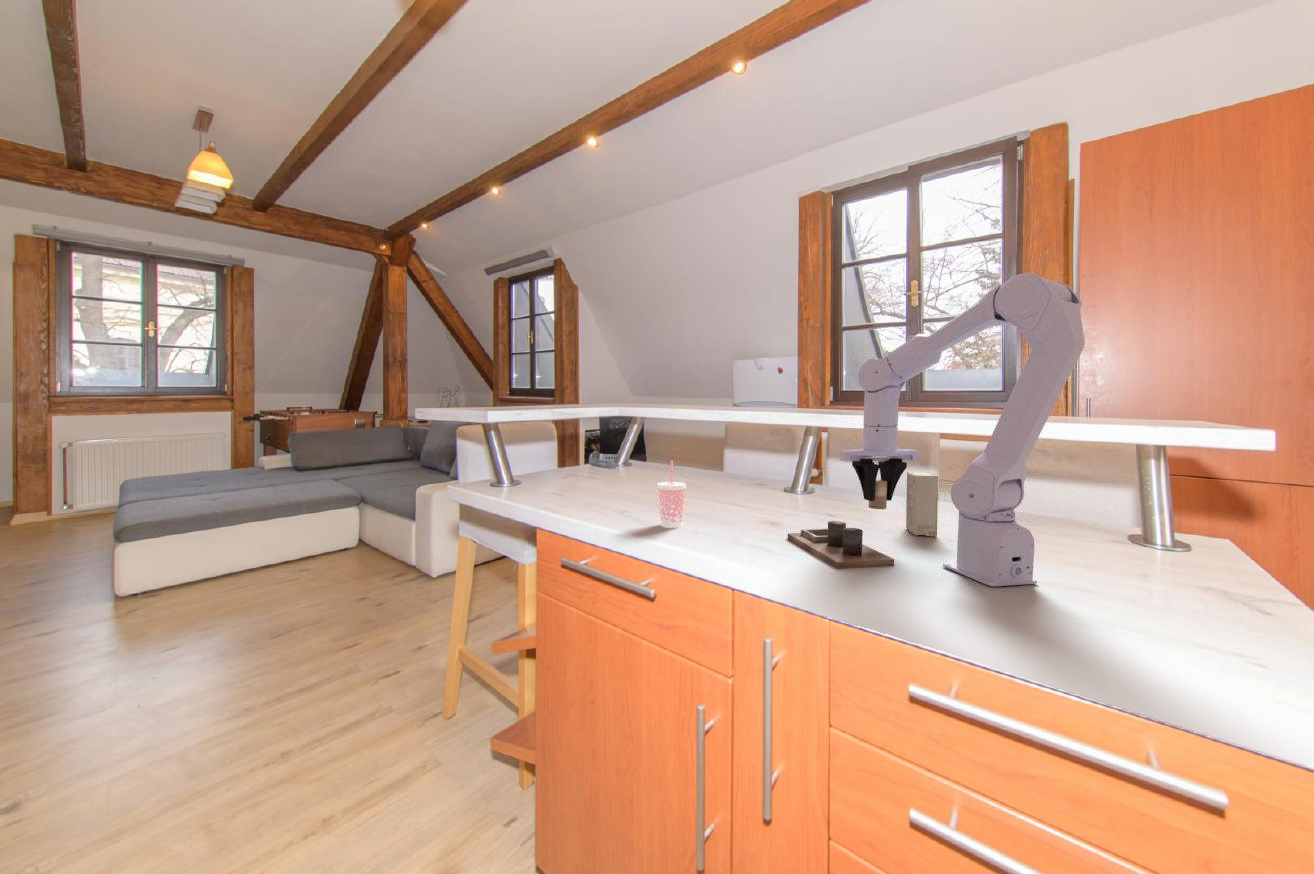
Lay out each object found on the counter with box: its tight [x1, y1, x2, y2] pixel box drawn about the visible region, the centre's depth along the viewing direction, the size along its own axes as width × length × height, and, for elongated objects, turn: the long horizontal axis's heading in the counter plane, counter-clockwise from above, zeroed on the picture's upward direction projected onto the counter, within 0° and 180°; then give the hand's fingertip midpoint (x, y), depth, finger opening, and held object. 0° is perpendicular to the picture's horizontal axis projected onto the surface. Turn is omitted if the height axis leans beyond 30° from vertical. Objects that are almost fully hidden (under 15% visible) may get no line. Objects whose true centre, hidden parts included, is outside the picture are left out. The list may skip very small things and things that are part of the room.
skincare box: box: [905, 471, 939, 537], centre depth 101 cm, size 6×4×12 cm
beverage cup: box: [656, 459, 687, 529], centre depth 106 cm, size 6×6×14 cm
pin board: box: [787, 520, 895, 569], centre depth 88 cm, size 18×10×5 cm, turn 11°
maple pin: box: [868, 479, 888, 510], centre depth 92 cm, size 3×3×5 cm
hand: (877, 499), depth 92 cm, fingers closed on maple pin, 3 cm apart
